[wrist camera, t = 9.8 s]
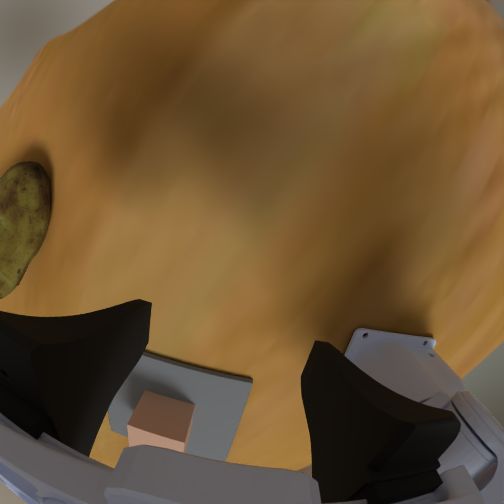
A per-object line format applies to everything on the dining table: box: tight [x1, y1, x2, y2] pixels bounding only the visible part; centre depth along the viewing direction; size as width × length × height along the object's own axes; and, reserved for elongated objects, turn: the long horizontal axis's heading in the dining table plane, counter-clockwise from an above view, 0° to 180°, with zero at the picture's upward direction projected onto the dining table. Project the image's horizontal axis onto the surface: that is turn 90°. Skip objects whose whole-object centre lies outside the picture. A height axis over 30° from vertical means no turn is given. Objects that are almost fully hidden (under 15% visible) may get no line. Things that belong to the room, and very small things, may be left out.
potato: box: [0, 162, 50, 299], centre depth 16 cm, size 8×13×8 cm, turn 125°
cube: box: [127, 390, 195, 453], centre depth 20 cm, size 5×5×5 cm
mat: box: [108, 352, 253, 462], centre depth 23 cm, size 14×14×1 cm
